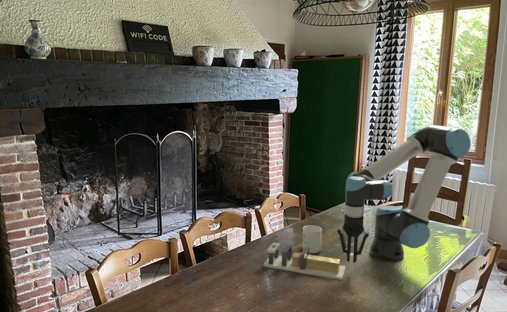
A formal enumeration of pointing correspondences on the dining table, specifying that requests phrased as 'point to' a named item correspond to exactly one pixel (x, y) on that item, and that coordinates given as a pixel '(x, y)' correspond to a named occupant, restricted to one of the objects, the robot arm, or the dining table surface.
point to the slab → (310, 271)
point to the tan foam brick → (317, 262)
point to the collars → (286, 254)
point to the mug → (312, 238)
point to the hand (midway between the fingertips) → (351, 268)
